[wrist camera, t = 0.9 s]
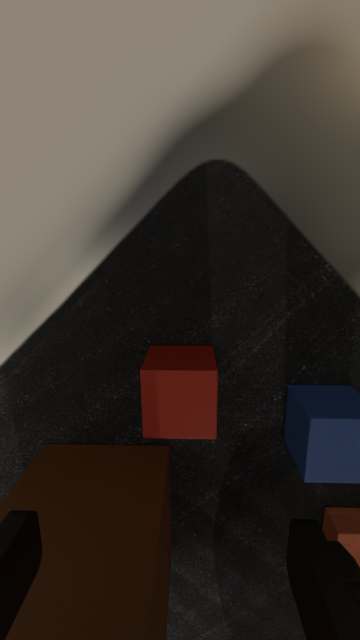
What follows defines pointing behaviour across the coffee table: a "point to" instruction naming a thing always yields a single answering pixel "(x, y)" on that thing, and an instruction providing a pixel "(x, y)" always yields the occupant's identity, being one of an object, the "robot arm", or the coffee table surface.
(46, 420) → the coffee table surface
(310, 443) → the blue block
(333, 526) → the red tray
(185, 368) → the red block
